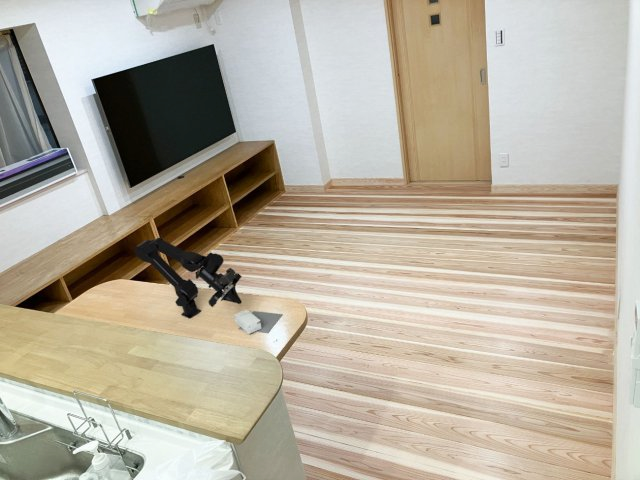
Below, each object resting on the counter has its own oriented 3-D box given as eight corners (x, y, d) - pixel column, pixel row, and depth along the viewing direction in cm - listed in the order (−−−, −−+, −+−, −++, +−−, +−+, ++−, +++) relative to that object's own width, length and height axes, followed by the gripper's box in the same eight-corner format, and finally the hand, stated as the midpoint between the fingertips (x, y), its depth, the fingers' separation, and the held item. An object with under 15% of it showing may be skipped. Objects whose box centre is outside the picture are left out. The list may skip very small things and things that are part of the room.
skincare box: (235, 322, 214) (248, 335, 205) (233, 313, 212) (246, 325, 203) (248, 317, 217) (262, 329, 207) (247, 308, 215) (260, 319, 206)
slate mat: (238, 329, 211) (238, 328, 211) (254, 311, 221) (254, 310, 221) (268, 333, 205) (267, 332, 205) (282, 314, 215) (282, 314, 215)
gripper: (207, 278, 200) (237, 305, 200) (232, 255, 215) (261, 280, 215) (196, 294, 207) (225, 320, 207) (221, 271, 222) (249, 295, 222)
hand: (241, 303), depth 212 cm, fingers closed
